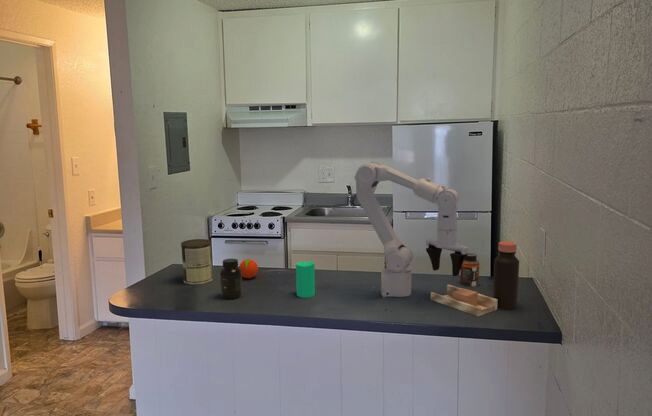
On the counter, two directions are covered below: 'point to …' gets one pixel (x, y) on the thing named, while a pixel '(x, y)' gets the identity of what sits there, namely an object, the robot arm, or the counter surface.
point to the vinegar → (506, 276)
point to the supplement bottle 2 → (470, 271)
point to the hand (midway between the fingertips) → (445, 272)
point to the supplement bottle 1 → (231, 279)
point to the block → (466, 296)
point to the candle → (305, 279)
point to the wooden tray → (483, 303)
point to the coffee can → (196, 261)
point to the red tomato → (248, 268)
